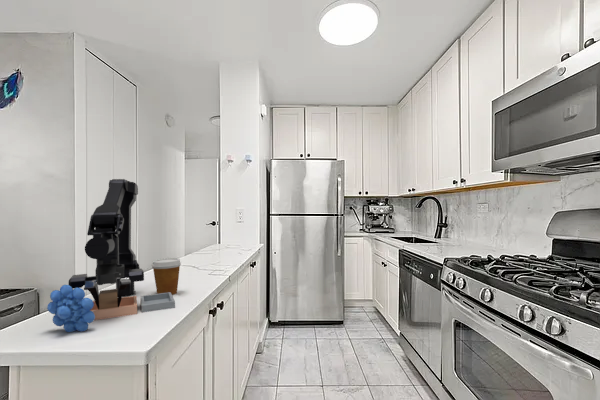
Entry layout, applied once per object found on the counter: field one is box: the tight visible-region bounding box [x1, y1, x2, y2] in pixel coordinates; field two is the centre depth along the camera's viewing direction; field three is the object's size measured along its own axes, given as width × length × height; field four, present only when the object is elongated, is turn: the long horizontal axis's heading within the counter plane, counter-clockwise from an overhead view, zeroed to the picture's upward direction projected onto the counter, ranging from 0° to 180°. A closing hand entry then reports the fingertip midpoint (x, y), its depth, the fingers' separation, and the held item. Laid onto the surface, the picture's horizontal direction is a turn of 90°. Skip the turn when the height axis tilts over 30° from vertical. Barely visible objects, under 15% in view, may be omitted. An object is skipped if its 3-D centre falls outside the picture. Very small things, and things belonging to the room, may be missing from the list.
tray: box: [140, 292, 176, 313], centre depth 108 cm, size 12×9×2 cm
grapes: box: [46, 284, 95, 333], centre depth 86 cm, size 12×7×12 cm, turn 88°
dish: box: [90, 295, 138, 321], centre depth 102 cm, size 12×15×3 cm
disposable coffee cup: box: [151, 257, 182, 296], centre depth 122 cm, size 10×10×12 cm
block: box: [99, 288, 118, 310], centre depth 102 cm, size 4×4×6 cm
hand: (108, 308), depth 102 cm, fingers closed on block, 4 cm apart
